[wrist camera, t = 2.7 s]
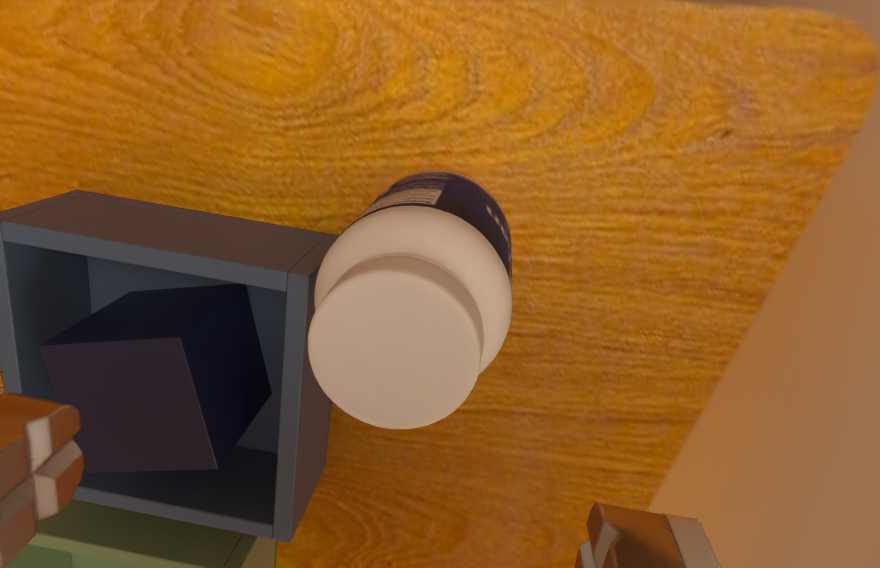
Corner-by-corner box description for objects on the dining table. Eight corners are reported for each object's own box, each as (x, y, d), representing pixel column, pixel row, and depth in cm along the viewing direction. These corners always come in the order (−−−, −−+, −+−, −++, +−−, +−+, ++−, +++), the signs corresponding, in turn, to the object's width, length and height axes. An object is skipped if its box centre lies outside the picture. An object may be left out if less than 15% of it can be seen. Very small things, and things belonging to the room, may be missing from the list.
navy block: (245, 282, 23) (179, 336, 18) (272, 393, 25) (217, 469, 20) (129, 291, 24) (37, 346, 19) (162, 398, 26) (85, 473, 21)
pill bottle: (528, 284, 23) (542, 432, 13) (397, 319, 24) (328, 478, 15) (487, 147, 21) (470, 209, 12) (349, 191, 22) (236, 279, 13)
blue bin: (346, 236, 23) (309, 276, 18) (325, 466, 27) (290, 543, 22) (76, 189, 23) (-22, 217, 19) (94, 421, 27) (16, 488, 23)
